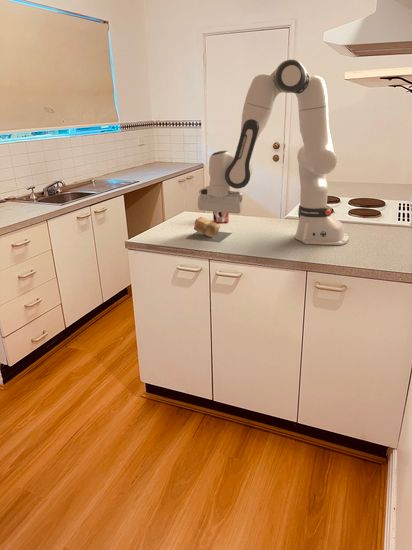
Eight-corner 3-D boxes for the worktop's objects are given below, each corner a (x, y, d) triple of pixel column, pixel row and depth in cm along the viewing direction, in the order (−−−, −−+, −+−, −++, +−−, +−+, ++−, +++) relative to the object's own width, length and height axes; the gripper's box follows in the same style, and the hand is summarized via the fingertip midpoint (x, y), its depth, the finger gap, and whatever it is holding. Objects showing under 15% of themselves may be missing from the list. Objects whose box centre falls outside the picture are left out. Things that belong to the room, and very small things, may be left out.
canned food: (229, 220, 211) (228, 198, 206) (228, 224, 204) (227, 202, 199) (214, 220, 212) (213, 199, 207) (213, 224, 204) (212, 203, 200)
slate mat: (232, 234, 189) (232, 232, 189) (219, 243, 178) (219, 242, 177) (199, 230, 196) (199, 229, 196) (185, 239, 185) (185, 238, 185)
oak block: (220, 225, 185) (201, 216, 188) (215, 228, 181) (196, 219, 184) (217, 234, 188) (198, 226, 190) (212, 238, 183) (193, 229, 186)
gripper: (245, 190, 174) (244, 221, 179) (202, 187, 182) (203, 217, 188) (239, 193, 169) (239, 225, 174) (195, 190, 177) (196, 221, 183)
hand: (220, 221), depth 181 cm, fingers closed
